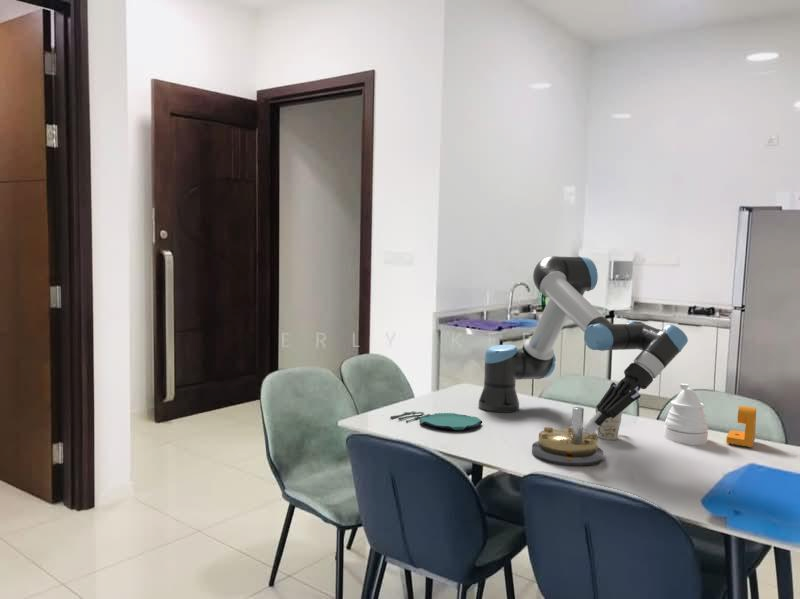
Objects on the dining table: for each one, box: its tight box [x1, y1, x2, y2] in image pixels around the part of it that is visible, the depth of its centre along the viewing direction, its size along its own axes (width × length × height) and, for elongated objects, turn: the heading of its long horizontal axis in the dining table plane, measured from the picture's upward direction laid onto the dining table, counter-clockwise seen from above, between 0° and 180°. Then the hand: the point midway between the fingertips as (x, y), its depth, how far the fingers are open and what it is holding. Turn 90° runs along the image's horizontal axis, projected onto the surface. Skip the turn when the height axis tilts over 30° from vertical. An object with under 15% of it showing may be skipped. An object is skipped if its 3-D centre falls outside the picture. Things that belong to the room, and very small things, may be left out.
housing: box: [531, 440, 604, 468], centre depth 193 cm, size 20×20×2 cm
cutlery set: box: [390, 410, 483, 431], centre depth 227 cm, size 20×30×2 cm, turn 54°
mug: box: [594, 403, 623, 441], centre depth 216 cm, size 8×13×10 cm, turn 137°
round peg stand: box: [537, 406, 599, 456], centre depth 193 cm, size 17×17×13 cm
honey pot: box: [663, 383, 709, 445], centre depth 215 cm, size 13×13×18 cm
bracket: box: [725, 405, 757, 448], centre depth 212 cm, size 11×7×12 cm, turn 147°
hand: (587, 431), depth 186 cm, fingers closed
